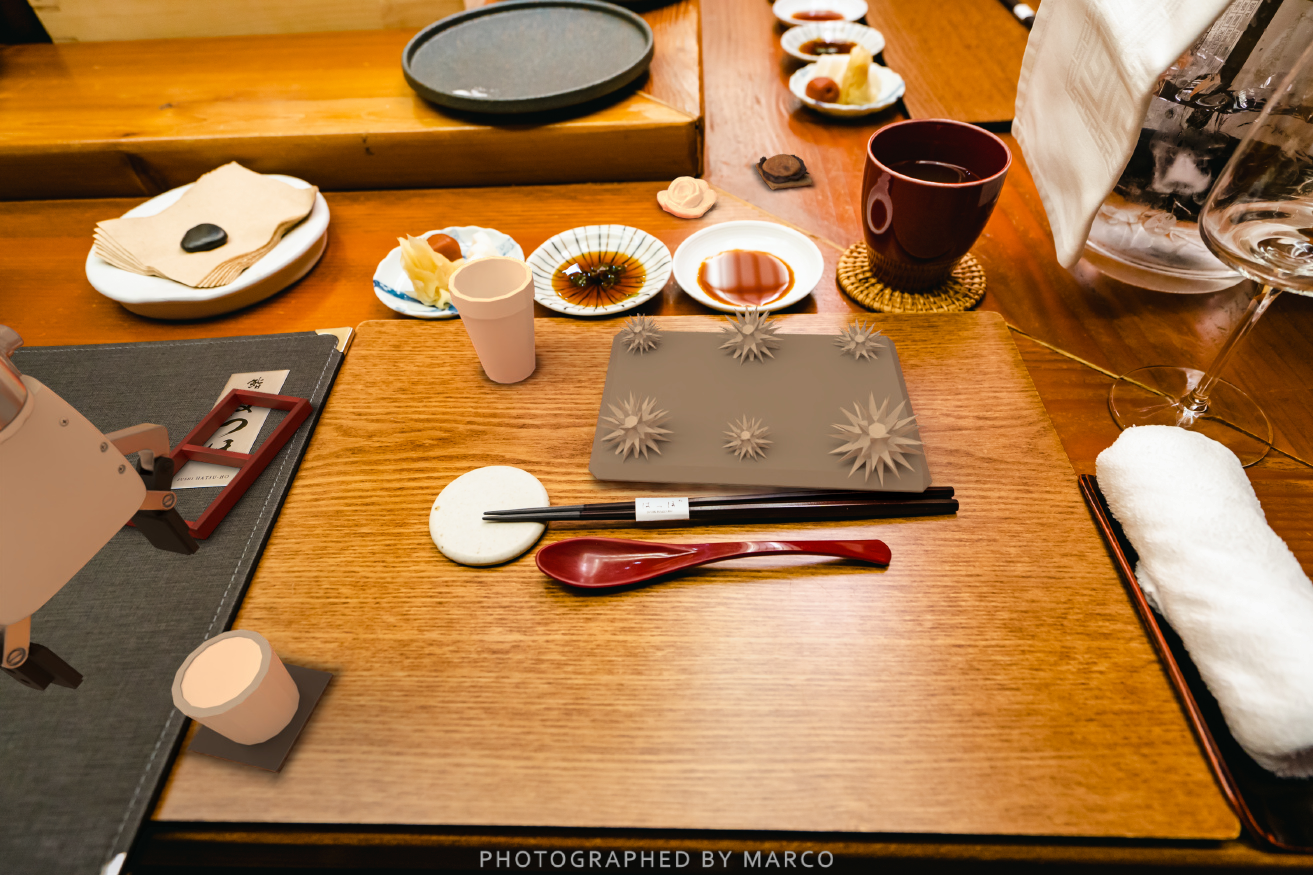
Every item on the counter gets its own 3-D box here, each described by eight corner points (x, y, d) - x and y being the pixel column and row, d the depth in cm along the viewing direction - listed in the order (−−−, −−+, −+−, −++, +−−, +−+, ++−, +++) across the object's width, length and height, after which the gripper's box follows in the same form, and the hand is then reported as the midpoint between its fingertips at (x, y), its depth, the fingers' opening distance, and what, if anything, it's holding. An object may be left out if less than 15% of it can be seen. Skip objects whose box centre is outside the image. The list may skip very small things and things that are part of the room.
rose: (716, 167, 115) (718, 193, 108) (715, 192, 118) (717, 219, 111) (657, 167, 115) (655, 194, 108) (658, 192, 118) (656, 219, 112)
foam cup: (495, 338, 90) (474, 251, 81) (559, 350, 88) (545, 262, 79) (459, 384, 84) (432, 294, 74) (527, 398, 82) (508, 307, 72)
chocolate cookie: (815, 187, 119) (818, 166, 116) (768, 191, 118) (770, 170, 115) (796, 161, 126) (799, 141, 123) (752, 165, 125) (754, 145, 122)
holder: (313, 409, 81) (308, 398, 80) (205, 540, 68) (196, 529, 67) (240, 398, 83) (233, 387, 81) (120, 524, 70) (109, 513, 68)
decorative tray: (888, 349, 86) (907, 282, 79) (931, 510, 68) (960, 441, 61) (616, 342, 89) (610, 276, 82) (587, 495, 71) (577, 427, 64)
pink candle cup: (204, 710, 55) (156, 671, 50) (285, 653, 59) (248, 611, 54) (237, 772, 52) (190, 737, 47) (322, 708, 55) (286, 669, 50)
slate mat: (278, 773, 52) (276, 771, 52) (188, 750, 53) (186, 748, 53) (334, 675, 58) (332, 673, 57) (251, 657, 59) (249, 655, 59)
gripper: (17, 298, 38) (172, 498, 50) (-384, 542, 26) (-53, 728, 38) (130, 314, 37) (261, 515, 49) (-235, 578, 25) (59, 760, 37)
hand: (124, 608), depth 43 cm, fingers open, 9 cm apart
